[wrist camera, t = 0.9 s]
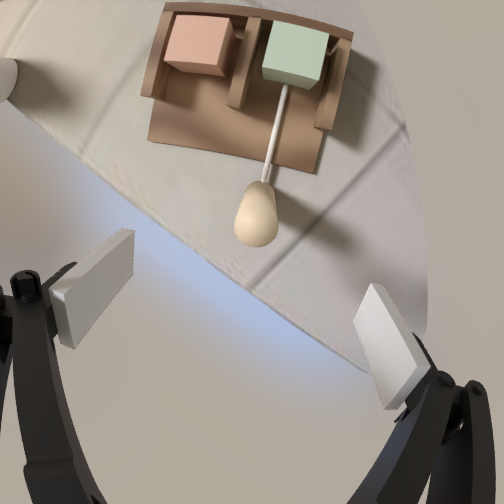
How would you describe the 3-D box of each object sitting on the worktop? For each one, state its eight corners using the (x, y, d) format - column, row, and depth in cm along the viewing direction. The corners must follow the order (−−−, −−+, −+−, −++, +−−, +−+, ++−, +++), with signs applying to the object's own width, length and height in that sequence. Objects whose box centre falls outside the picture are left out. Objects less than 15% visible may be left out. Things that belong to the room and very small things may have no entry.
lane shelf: (178, 16, 24) (165, 2, 19) (342, 44, 24) (353, 32, 20) (149, 140, 30) (132, 142, 26) (311, 172, 31) (319, 179, 27)
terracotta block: (192, 33, 24) (176, 15, 19) (236, 37, 24) (229, 18, 19) (182, 71, 26) (163, 60, 21) (226, 76, 26) (216, 64, 21)
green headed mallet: (272, 41, 25) (275, 0, 15) (317, 51, 25) (340, 17, 15) (235, 205, 33) (220, 239, 23) (277, 214, 33) (282, 253, 23)
